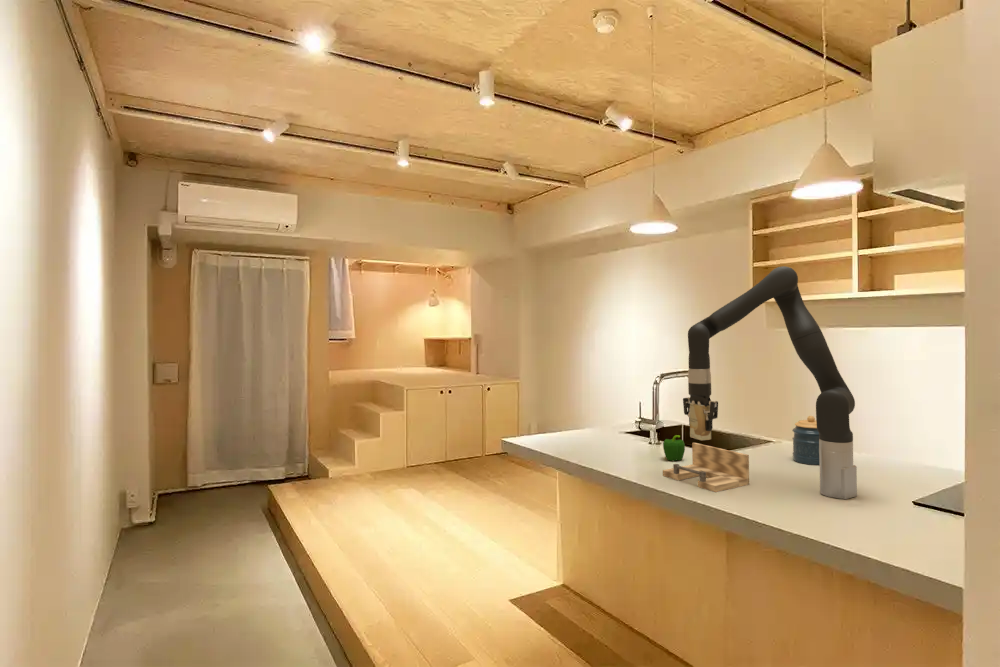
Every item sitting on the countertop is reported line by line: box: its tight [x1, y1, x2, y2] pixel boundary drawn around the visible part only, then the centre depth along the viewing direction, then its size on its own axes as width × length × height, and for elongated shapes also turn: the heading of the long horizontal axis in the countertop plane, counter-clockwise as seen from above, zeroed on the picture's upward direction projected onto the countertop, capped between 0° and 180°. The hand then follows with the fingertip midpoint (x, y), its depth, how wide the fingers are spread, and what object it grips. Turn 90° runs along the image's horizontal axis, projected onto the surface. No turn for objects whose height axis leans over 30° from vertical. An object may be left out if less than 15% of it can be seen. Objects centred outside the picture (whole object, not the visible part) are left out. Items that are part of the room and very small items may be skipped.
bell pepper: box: [662, 434, 686, 462], centre depth 232 cm, size 8×8×10 cm
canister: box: [791, 415, 820, 466], centre depth 224 cm, size 13×13×18 cm
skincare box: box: [689, 403, 712, 441], centre depth 202 cm, size 6×4×12 cm
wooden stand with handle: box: [662, 442, 750, 493], centre depth 203 cm, size 24×16×10 cm, turn 28°
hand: (700, 429), depth 202 cm, fingers closed on skincare box, 6 cm apart
